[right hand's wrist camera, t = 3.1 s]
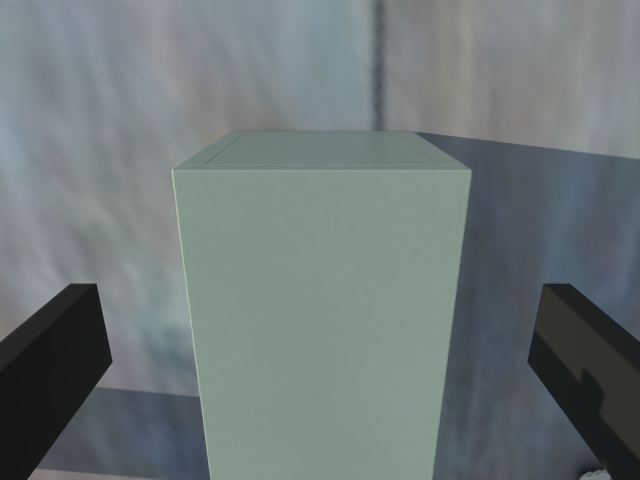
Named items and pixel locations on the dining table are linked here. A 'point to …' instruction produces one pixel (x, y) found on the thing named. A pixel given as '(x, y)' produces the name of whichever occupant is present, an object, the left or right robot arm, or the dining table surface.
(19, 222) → the dining table surface
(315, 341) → the cabinet
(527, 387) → the dining table surface
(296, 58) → the dining table surface
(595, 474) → the fork
